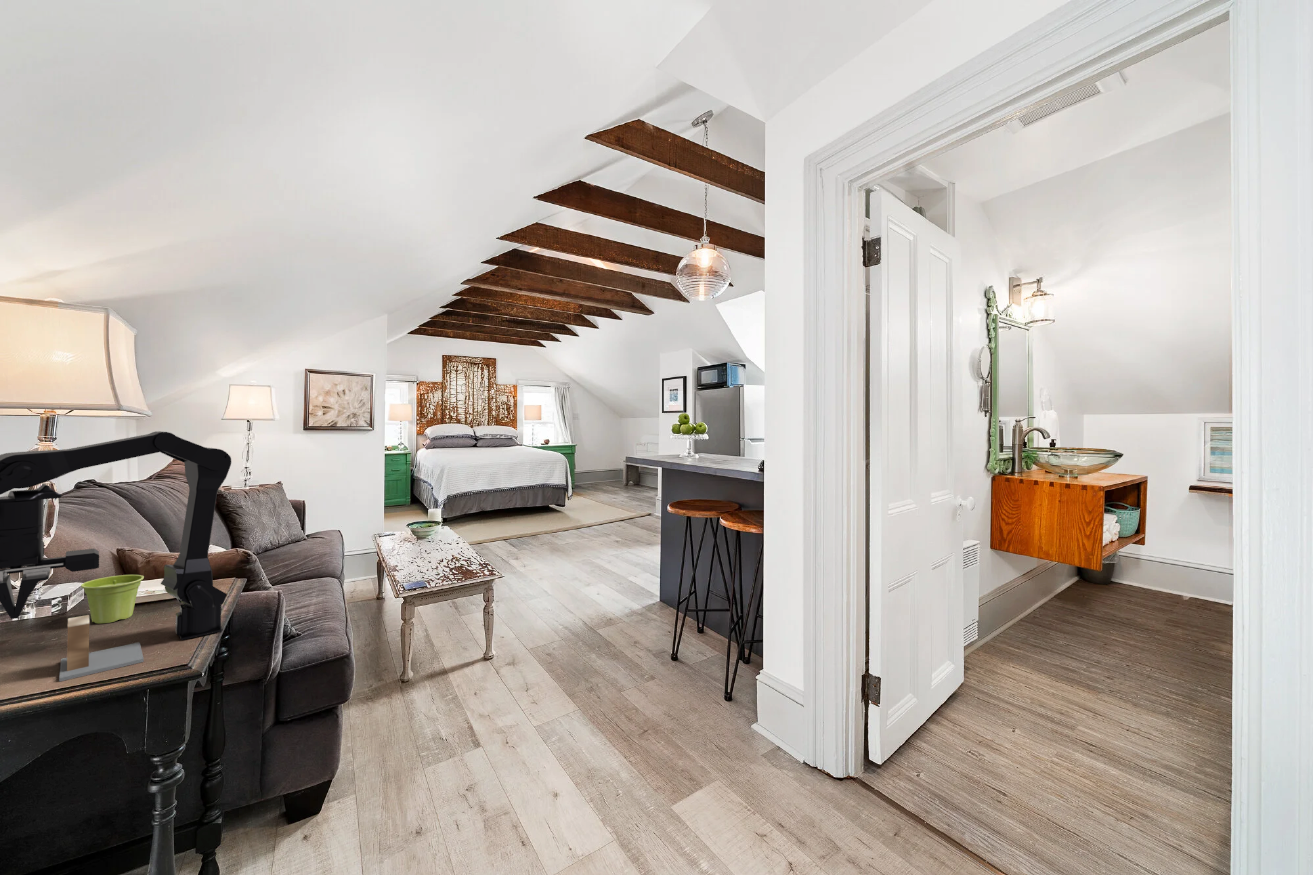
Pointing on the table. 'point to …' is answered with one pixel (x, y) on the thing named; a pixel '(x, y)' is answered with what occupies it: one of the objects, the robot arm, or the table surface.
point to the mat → (105, 661)
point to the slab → (78, 643)
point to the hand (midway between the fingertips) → (14, 617)
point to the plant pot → (112, 597)
